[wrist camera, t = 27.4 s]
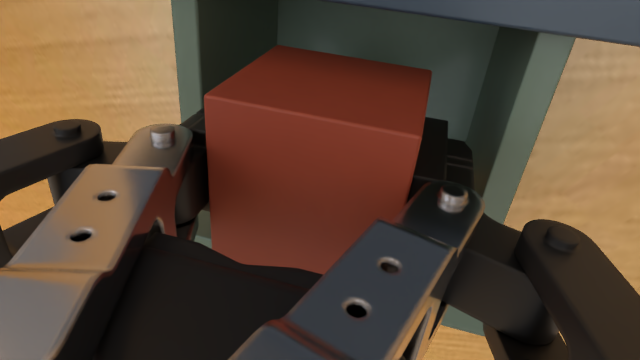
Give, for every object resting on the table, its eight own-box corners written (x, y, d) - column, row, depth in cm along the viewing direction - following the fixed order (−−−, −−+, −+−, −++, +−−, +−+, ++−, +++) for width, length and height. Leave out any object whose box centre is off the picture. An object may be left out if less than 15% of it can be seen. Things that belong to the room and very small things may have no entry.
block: (271, 175, 15) (210, 259, 11) (277, 43, 12) (202, 94, 9) (401, 204, 14) (382, 304, 10) (432, 69, 12) (422, 137, 8)
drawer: (454, 273, 23) (453, 410, 17) (252, 223, 25) (180, 328, 19) (582, -103, 14) (687, -125, 8) (255, -133, 16) (122, -170, 10)
